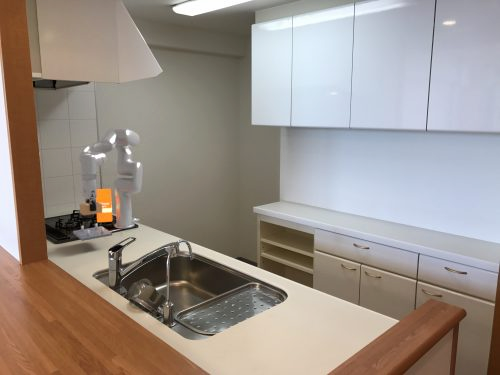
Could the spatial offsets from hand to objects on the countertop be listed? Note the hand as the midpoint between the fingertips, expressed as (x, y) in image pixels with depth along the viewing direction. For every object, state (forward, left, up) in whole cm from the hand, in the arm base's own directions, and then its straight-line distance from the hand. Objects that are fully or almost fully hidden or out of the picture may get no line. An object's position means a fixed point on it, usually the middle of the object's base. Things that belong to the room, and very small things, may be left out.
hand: (91, 209), depth 223 cm
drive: (0, 0, -2) cm, 2 cm away
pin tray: (0, 0, -14) cm, 14 cm away
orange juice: (-17, -28, -16) cm, 36 cm away
